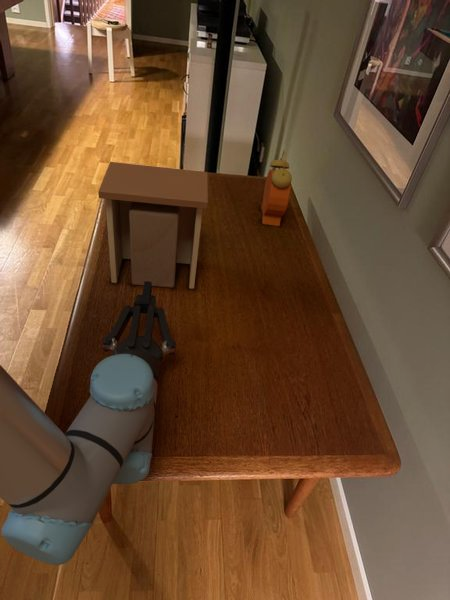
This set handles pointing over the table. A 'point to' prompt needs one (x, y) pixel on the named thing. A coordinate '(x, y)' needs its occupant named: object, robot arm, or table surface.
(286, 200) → the alarm clock
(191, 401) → the table surface
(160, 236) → the wooden block
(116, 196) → the desk
